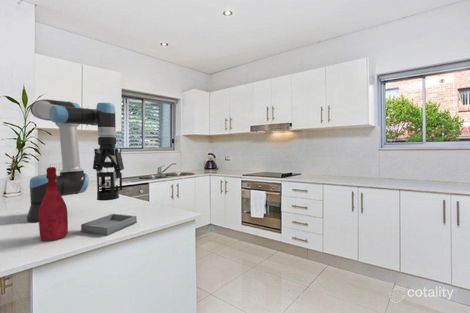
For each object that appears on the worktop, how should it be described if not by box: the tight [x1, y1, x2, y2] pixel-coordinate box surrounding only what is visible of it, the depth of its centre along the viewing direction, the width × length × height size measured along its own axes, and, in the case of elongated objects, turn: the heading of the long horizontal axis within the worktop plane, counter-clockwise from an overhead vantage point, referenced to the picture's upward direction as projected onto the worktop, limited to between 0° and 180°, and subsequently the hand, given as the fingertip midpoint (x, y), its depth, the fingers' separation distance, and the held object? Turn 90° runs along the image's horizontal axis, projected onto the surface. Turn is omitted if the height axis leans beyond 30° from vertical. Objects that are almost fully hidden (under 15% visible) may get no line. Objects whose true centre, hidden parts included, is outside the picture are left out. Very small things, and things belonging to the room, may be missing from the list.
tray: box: [80, 213, 138, 237], centre depth 117 cm, size 15×18×4 cm
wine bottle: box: [38, 166, 69, 242], centre depth 104 cm, size 10×10×30 cm
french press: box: [96, 149, 123, 202], centre depth 115 cm, size 12×9×23 cm
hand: (108, 184), depth 116 cm, fingers closed on french press, 9 cm apart
